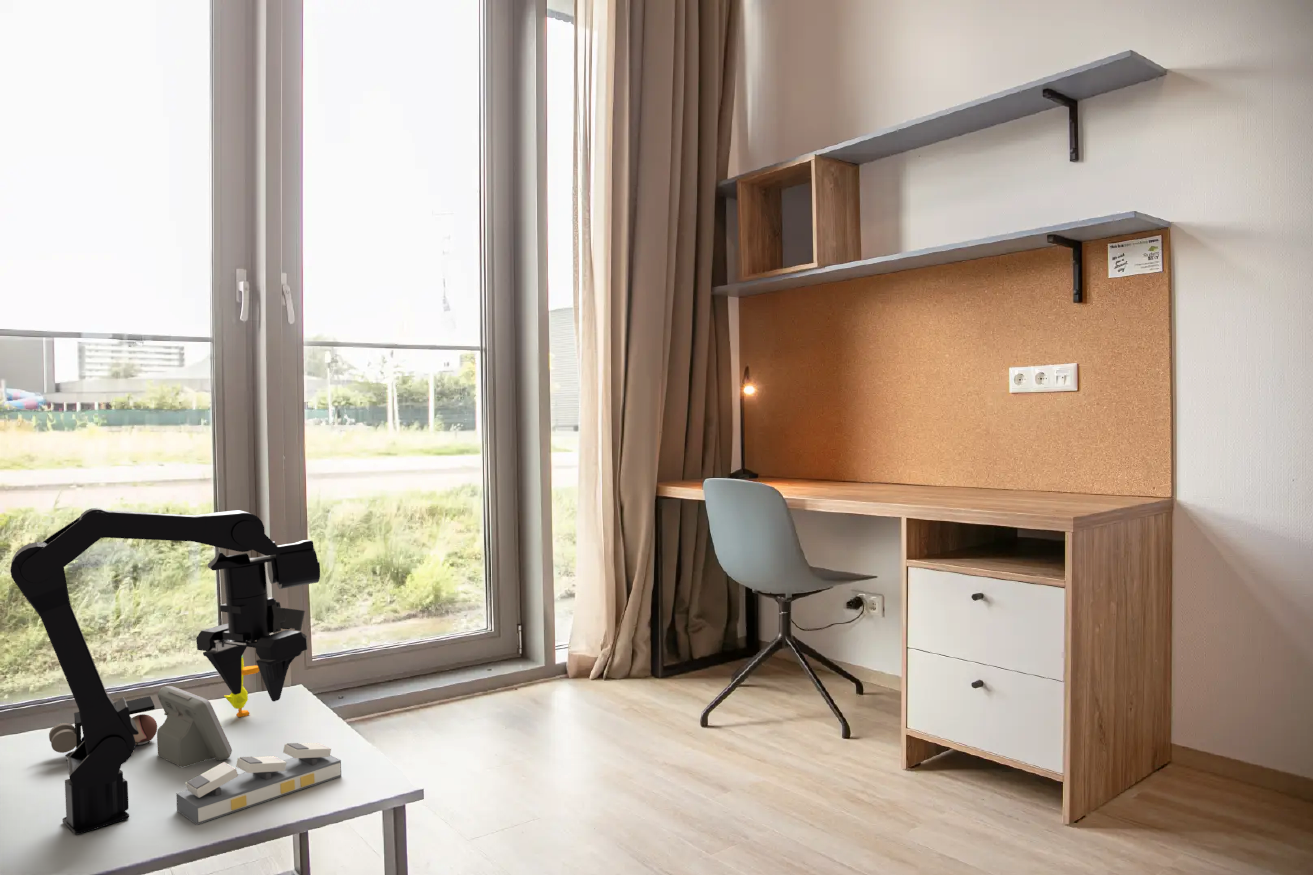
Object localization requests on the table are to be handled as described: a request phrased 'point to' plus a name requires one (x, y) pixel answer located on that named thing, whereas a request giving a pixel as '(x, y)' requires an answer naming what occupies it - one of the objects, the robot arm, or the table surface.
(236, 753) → the table surface
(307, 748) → the rocker far
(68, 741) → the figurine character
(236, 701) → the toy figure
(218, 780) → the rocker near
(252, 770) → the rocker middle
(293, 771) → the switch unit
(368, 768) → the table surface
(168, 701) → the digital clock
